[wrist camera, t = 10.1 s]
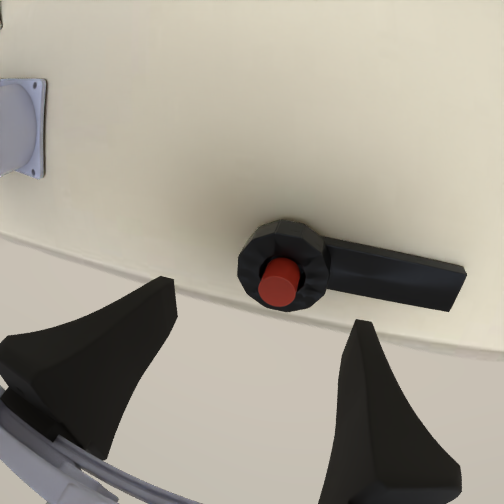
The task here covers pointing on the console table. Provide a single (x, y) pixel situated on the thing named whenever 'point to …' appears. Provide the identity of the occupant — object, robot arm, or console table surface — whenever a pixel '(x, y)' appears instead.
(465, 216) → the console table surface
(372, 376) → the robot arm
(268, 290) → the bell button
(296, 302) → the lever handle
